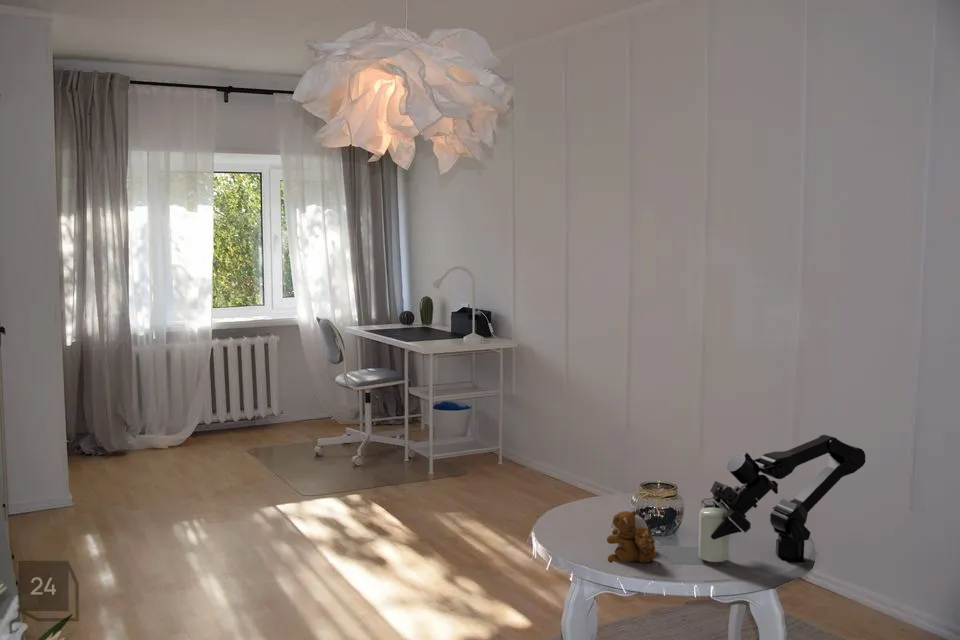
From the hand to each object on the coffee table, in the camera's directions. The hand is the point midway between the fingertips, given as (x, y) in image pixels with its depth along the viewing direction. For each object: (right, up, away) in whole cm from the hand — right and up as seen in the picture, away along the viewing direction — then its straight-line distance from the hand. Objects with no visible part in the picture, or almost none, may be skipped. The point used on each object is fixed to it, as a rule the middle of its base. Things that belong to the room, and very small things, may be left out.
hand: (708, 533), depth 242 cm
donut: (-19, -7, +12) cm, 24 cm away
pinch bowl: (+1, -8, +1) cm, 8 cm away
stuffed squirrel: (-20, -8, +2) cm, 22 cm away
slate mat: (-2, -8, +5) cm, 9 cm away
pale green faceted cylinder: (+1, -6, 0) cm, 7 cm away
